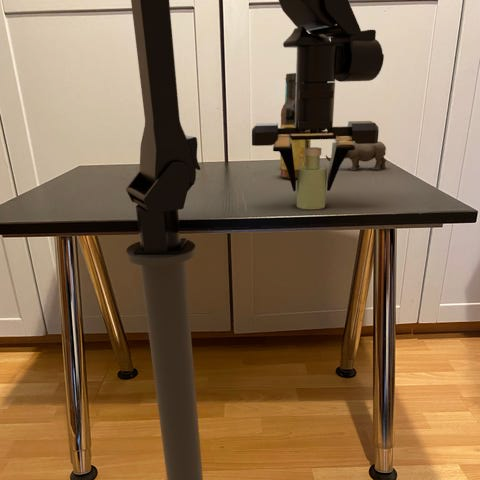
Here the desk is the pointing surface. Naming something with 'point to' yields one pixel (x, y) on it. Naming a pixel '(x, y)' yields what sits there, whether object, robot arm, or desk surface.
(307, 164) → the small bottle
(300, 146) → the sauce bottle
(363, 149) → the rhino figurine
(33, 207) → the desk surface
